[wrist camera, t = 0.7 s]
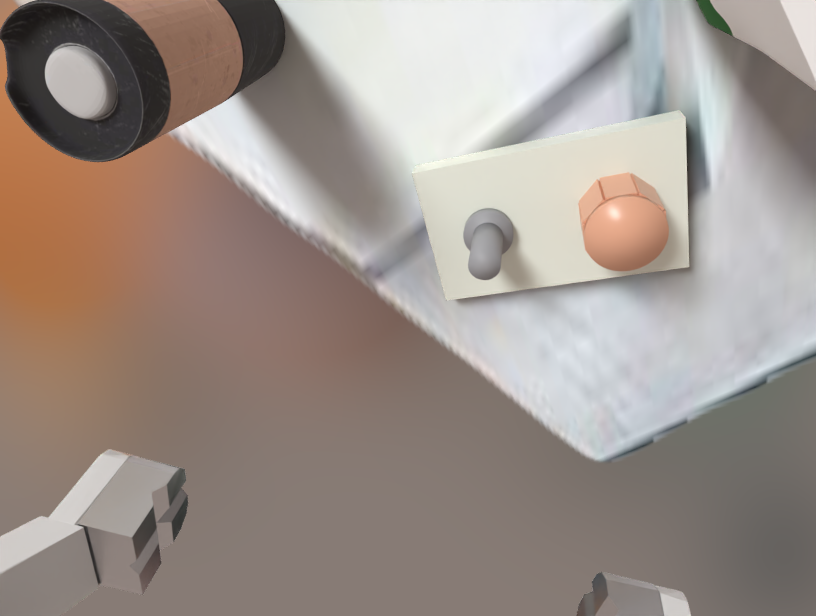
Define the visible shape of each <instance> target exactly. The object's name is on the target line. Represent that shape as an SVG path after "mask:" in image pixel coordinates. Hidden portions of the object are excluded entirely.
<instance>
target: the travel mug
mask: <svg viewBox="0 0 816 616" xmlns="http://www.w3.org/2000/svg"><path fill="white" fill-rule="evenodd" d="M0 39H1V40H2V42H3V44H4V47H5V52H6V61H7V71H8V72H7V73H8V77H7V81H6V84H5V89H6V93H7V95H8V97H9V99H10V101H11V103H12V105H13V106H14V108H15V109H16V111H17V112H18V114H19V115H20V116H21V118H22V119H23V120H24V122H25V123H26V124H27V125H28V126H29V127H30V128H31V129H32V130H33V131H34V132H35V133H36V134H37V135H38V136H39V137H40V138H41V139H42V140H44V141H45V142H47V143H48V144H49V145H50V146H52V147H54V148H55V149H57V150H58V151H60V152H62V153H64V154H66V155H68V156H71V157H73V158H76V159H80V160H84V161H90V162H106V161H111V160H115V159H118V158H121V157H123V156H125V155H127V154H129V153H131V152H132V151H134V150H136V149H138V148H140V147H142V146H143V145H145V144H147V143H149V142H151V141H153V140H155V139H156V138H158V137H160V136H162V135H164V134H166V133H168V132H169V131H171V130H173V129H175V128H177V127H179V126H180V125H182V124H184V123H186V122H188V121H190V120H192V119H193V118H195V117H197V116H199V115H201V114H203V113H204V112H206V111H208V110H210V109H212V108H214V107H216V106H217V105H219V104H221V103H223V102H224V101H226V100H227V99H229V98H230V97H232V96H233V95H235V94H236V93H238V92H239V91H241V90H242V89H244V88H245V87H247V86H248V85H250V84H251V83H253V82H254V81H256V80H258V79H259V78H260V77H262V76H263V75H265V74H266V73H267V72H269V71H270V70H271V69H272V68H273V67H274V66H275V65H276V63H277V62H278V60H279V59H280V57H281V54H282V51H283V47H284V41H285V30H284V23H283V19H282V16H281V13H280V11H279V9H278V7H277V5H276V3H275V2H274V0H36V1H32V2H29V3H27V4H24V5H22V6H20V7H19V8H18V9H16V10H15V11H14V12H12V14H11V15H10V16H9V17H8V18H7V19H6V21H5V22H4V24H3V26H2V27H1V29H0Z"/></svg>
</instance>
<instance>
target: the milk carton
mask: <svg viewBox="0 0 816 616" xmlns="http://www.w3.org/2000/svg"><path fill="white" fill-rule="evenodd" d="M696 1H697V3H698V5H699V7H700V9H701V11H702V13H703V15H704V17H705V19H706V20H707V22H708V23H709V24H711V25H712V26H713V27H715V28H718V29H720V30H722V31H724V32H726V33H728V34H730V35H731V36H733V37H735V38H737V39H739V40H741V41H743V42H745V43H747V44H749V45H751V46H752V47H754V48H756V49H758V50H760V51H761V52H763V53H765V54H766V55H767V56H769V57H770V58H771V59H773V60H774V61H776V62H777V63H778V64H780V65H781V66H782V67H784V68H785V69H786V70H788V71H789V72H790V73H792V74H793V75H795V76H796V77H797V78H799V79H800V80H801V81H803V82H804V83H805V84H807V85H808V86H809V87H811V88H812V89H813V90H815V91H816V0H696Z"/></svg>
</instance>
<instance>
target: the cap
mask: <svg viewBox="0 0 816 616" xmlns="http://www.w3.org/2000/svg"><path fill="white" fill-rule="evenodd" d="M578 206H579V214H580V222H581V230H582V235H583V240H584V246H585V251H586V252H587V253H588V254H589V256H590V257H591V258H592V259H593V260H594V261H595V262H596V263H597V264H598V265H600V266H602V267H604V268H606V269H609V270H613V271H631V270H635V269H639V268H641V267H643V266H645V265H647V264H649V263H650V262H652V261H653V260H654V259H656V258H657V257H658V256H659V255H660V253H661V252H662V251H663V249H664V247H665V245H666V243H667V240H668V236H669V226H668V222H667V219H666V210H665V208H664V206H663V204H662V202H661V200H660V198H659V196H658V194H657V192H656V190H655V188H654V187H652V186H651V185H649V184H648V183H646V182H645V181H643V180H642V179H640V178H639V177H637V176H636V175H634V174H633V173H631V174H630V173H629V172H627V173H622V174H617V175H611V176H606V177H600V181H599V180H598V179H597V180H596V181H595V182H594V183H593V185H592V186H591V187H590V188H589V189H588V191H587V192H586V193H585V194H584V195H583V197H582V198H581V199H580V200H579V203H578Z"/></svg>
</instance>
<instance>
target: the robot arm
mask: <svg viewBox="0 0 816 616" xmlns="http://www.w3.org/2000/svg"><path fill="white" fill-rule="evenodd" d="M185 481H186V475H185V469H183V468H179V467H175V466H171V465H168V464H164V463H160V462H156V461H152V460H149V459H144V458H141V457H137V456H135V455H131V454H127V453H123V452H118V451H115V450H111V449H108V450H107V451H105V452H104V453H102V454H101V455H99V457H98V458H97V459H96V460H95V462H94V463H93V464H92V465H91V466H90V468H89V469H88V470H87V471H86V472H85V474H84V475H83V476H82V477H81V479H80V480H79V481H78V482H77V484H76V485H75V486H74V487H73V488H72V489H71V491H70V492H69V493H68V495H67V496H66V497H65V498H64V499H63V501H62V502H61V503H60V504H59V505H58V506H57V508H56V509H55V510H54V511H53V513H52V514H51V515H50V516H49V517H44V516H40V517H38V518H36V519H34V520H32V521H30V522H28V523H26V524H24V525H22V526H20V527H18V528H16V529H14V530H12V531H10V532H8V533H6V534H4V535H2V536H0V616H61V615H63V614H64V613H65V612H67V611H68V610H70V609H71V608H72V607H74V606H75V605H76V604H78V603H79V602H80V601H82V600H83V599H85V598H86V597H87V596H89V595H90V594H91V593H93V592H94V591H95V590H97V589H98V588H99V585H101V586H106V587H110V588H114V589H118V590H123V591H127V592H131V593H136V594H140V595H143V594H144V592H145V590H146V589H147V587H148V585H149V583H150V582H151V580H152V578H153V576H154V575H155V573H156V571H157V570H158V568H159V566H160V565H161V556H160V550H162V549H163V548H165V547H166V546H168V545H169V544H172V543H173V542H174V540H175V539H176V537H177V535H178V533H179V531H180V530H181V527H182V525H183V522H184V519H185V516H186V513H187V507H188V495H187V494H186V493H185V492H184V490H183V489H182V486H183V485H184V483H185ZM592 587H593V591H592V592H590V593H587V594H584V596H583V598H582V600H581V602H580V604H579V606H578V611H577V615H576V616H691V613H690V609H689V605H688V601H687V598H686V597H685V595H684V594H683V593H682V592H680V591H678V590H673V589H669V588H664V587H660V586H656V585H653V584H651V583H647V582H643V581H638V580H634V579H630V578H626V577H621V576H617V575H613V574H608V573H604V572H600V573H598V574H597V575H596V576H595V578H594V579H593V581H592Z"/></svg>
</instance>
